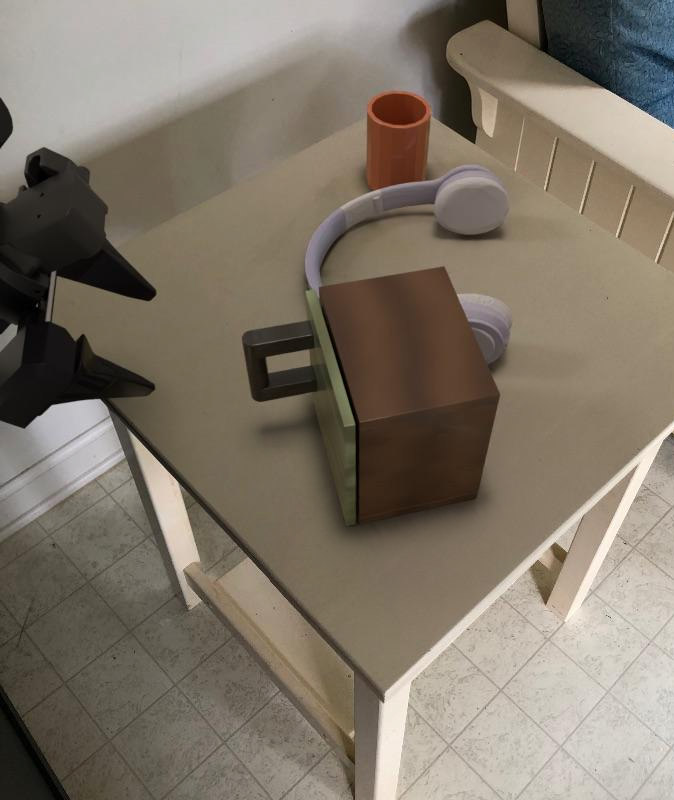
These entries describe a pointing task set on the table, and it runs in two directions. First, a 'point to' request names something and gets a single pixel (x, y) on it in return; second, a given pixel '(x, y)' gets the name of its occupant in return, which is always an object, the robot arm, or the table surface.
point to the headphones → (454, 210)
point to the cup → (397, 139)
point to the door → (309, 389)
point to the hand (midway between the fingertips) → (152, 341)
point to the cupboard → (411, 390)
